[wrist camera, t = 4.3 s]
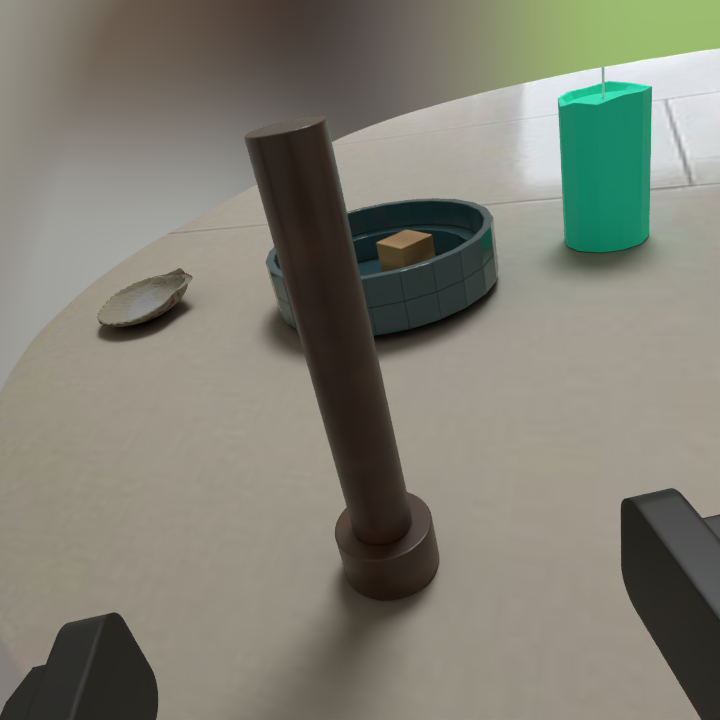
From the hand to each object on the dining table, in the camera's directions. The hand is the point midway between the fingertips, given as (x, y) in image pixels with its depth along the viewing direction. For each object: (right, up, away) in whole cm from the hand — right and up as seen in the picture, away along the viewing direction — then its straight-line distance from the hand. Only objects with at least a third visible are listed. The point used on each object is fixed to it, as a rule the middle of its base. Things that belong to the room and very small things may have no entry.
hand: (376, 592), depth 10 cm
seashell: (-18, +7, +43) cm, 47 cm away
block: (+3, +10, +37) cm, 39 cm away
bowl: (+2, +9, +37) cm, 38 cm away
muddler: (+1, -4, +14) cm, 14 cm away
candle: (+18, +13, +38) cm, 44 cm away
